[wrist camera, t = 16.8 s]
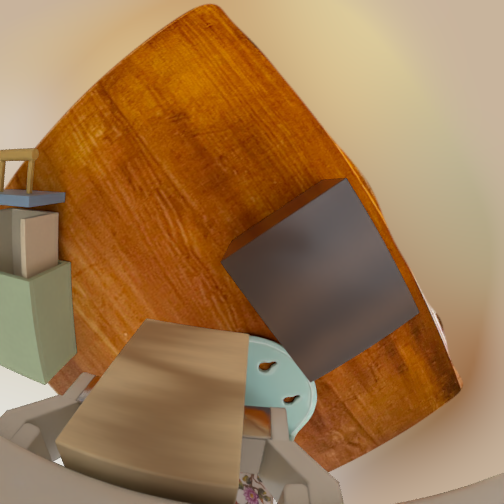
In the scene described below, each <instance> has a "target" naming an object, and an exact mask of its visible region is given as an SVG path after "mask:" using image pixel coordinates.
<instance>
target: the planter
mask: <svg viewBox="0 0 504 504" xmlns="http://www.w3.org/2000/svg"><path fill="white" fill-rule="evenodd" d="M272 361H275V362H276V363H274V364H272V365H271V367H270V368H269V369H268V370H262V369H260V368H259V365H260V364H261V363H263V362H266V363H270V362H272ZM296 395H299V396H297V397H295V398H294V400H293V401H292V402H290V403H286V402H284V401H283V400H284V398H286V397H293V396H296ZM316 401H317V391H316V386H315V382H314V381H313V382H310V381H309V380H308V379H307V378H306V376H305V375H304V374H303V372H302V371H301V370H300V369H299V367H298V366H297V365H296V363H295V362H294V361H293V359H292V358H291V357H290V355H289V354H288V353H287V351H286V350H285V349H284V348H283V346H282V345H281V344H279V343H276V342H274V341H271V340H268V339H265V338H261V337H257V336H251V335H249V348H248V363H247V377H246V391H245V405H251V406H261V407H281V408H285V409H286V412H287V422H288V431H289V441H294V438H295V436H296V434H297V433H298V432H299V431H300V430H301V428H302V427H303V426H304V425H305V424H306V423H307V422H308V420H309V419H310V418H311V416H312V414H313V412H314V410H315V406H316Z"/></svg>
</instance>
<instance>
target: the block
mask: <svg viewBox="0 0 504 504" xmlns="http://www.w3.org/2000/svg"><path fill="white" fill-rule="evenodd" d="M248 348H249V334H245V333H237V332H230V331H222V330H215V329H208V328H201V327H195V326H188V325H182V324H176V323H170V322H164V321H158V320H153V319H146V320H145V321H144V322H143V324H142V325H141V326H140V327H139V329H138V330H137V331H136V332H135V334H134V335H133V336H132V338H131V339H130V340H129V341H128V343H127V344H126V345H125V347H124V348H123V349H122V351H121V352H120V353H119V354H118V356H117V357H116V358H115V360H114V361H113V362H112V364H111V365H110V366H109V368H108V369H107V370H106V372H105V373H104V374H103V375H102V377H101V378H100V379H99V381H98V382H97V383H96V385H95V386H94V388H93V389H92V390H91V392H90V393H89V394H88V396H87V397H86V398H85V400H84V401H83V402H82V404H81V405H80V407H79V408H78V409H77V411H76V412H75V413H74V415H73V416H72V418H71V419H70V420H69V422H68V423H67V424H66V426H65V427H64V429H63V430H62V431H61V433H60V434H59V436H58V437H57V439H56V440H55V443H56V446H57V449H58V451H59V454H60V456H61V459H62V461H63V464H64V466H65V467H67V468H69V469H71V470H74V471H76V472H79V473H82V474H84V475H87V476H90V477H92V478H95V479H98V480H101V481H104V482H107V483H110V484H113V485H116V486H120V487H123V488H126V489H130V490H133V491H137V492H141V493H145V494H149V495H153V496H157V497H161V498H166V499H170V500H175V501H180V502H186V503H191V504H235V503H236V498H237V493H238V488H239V475H240V461H241V448H242V434H243V419H244V405H245V391H246V377H247V363H248Z"/></svg>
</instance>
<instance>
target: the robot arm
mask: <svg viewBox="0 0 504 504" xmlns="http://www.w3.org/2000/svg"><path fill="white" fill-rule="evenodd" d="M100 378H101V377H100V376H96V375H93V374H90V373H87V372H84V373H82V374H81V375H80V376H79V377H78V378H77V379H76V381H75V382H74V383H73V384H72V385H71V386H70V388H69V389H68V390H67V391H66V392H65V394H64V395H63V396H61V395H57V396H54V397H50V398H47V399H44V400H41V401H38V402H34V403H31V404H28V405H24V406H21V407H18V408H15V409H11V410H7V411H6V412H5V413H4V414H3V415H2V416H1V417H0V504H191V503H186V502H180V501H175V500H170V499H166V498H161V497H157V496H153V495H149V494H145V493H141V492H137V491H133V490H130V489H126V488H123V487H120V486H116V485H113V484H110V483H107V482H104V481H101V480H98V479H95V478H92V477H90V476H87V475H84V474H82V473H79V472H76V471H74V470H71V469H69V468H67V467H64V466H62V465H59V464H57V463H55V462H53V461H55V460H57V459H58V458H60V457H61V456H60V454H59V451H58V449H57V446H56V443H55V440H56V439H57V437H58V436H59V434H60V433H61V431H62V430H63V429H64V427H65V426H66V424H67V423H68V422H69V420H70V419H71V418H72V416H73V415H74V413H75V412H76V411H77V409H78V408H79V407H80V405H81V404H82V402H83V401H84V400H85V398H86V397H87V396H88V394H89V393H90V392H91V390H92V389H93V388H94V386H95V385H96V383H97V382H98V381H99V379H100ZM240 473H248V474H257V475H258V477H259V478H260V479H261V481H262V482H263V484H264V485H265V486H266V488H267V489H268V491H269V492H270V493H271V495H272V496H273V498H274V499H275V500H276V502H277V504H344V503H343V498H342V494H341V489H340V485H339V482H338V481H337V480H336V479H335V478H333V476H331V475H330V474H329V473H328V472H327V471H326V470H325V469H324V468H322V467H321V466H320V465H319V464H318V463H317V462H316V461H315V460H314V459H313V458H311V457H310V456H309V455H308V454H307V453H306V452H305V451H304V450H303V449H302V448H301V447H300V446H299V445H298V444H297V443H296V442H294V441H289V431H288V422H287V412H286V409H285V408H281V407H261V406H251V405H244V419H243V434H242V448H241V461H240ZM396 504H504V473H502V474H499V475H496V476H493V477H490V478H488V479H485V480H483V481H479V482H477V483H474V484H471V485H468V486H465V487H461V488H458V489H455V490H451V491H448V492H444V493H441V494H437V495H433V496H429V497H425V498H420V499H416V500H411V501H406V502H401V503H396Z"/></svg>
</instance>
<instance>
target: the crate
mask: <svg viewBox="0 0 504 504" xmlns="http://www.w3.org/2000/svg"><path fill="white" fill-rule="evenodd" d="M221 264H222V265H223V266H224V268H225V269H226V271H227V272H228V273H229V275H230V276H231V277H232V279H233V280H234V282H235V283H236V284H237V286H238V287H239V288H240V290H241V291H242V293H243V294H244V295H245V297H246V298H247V299H248V301H249V302H250V303H251V305H252V306H253V307H254V309H255V310H256V312H257V313H258V314H259V316H260V317H261V318H262V320H263V321H264V322H265V324H266V325H267V326H268V328H269V329H270V330H271V332H272V333H273V334H274V336H275V337H276V338H277V340H278V341H279V342H280V344H281V345H282V346H283V348H284V349H285V350H286V351H287V353H288V354H289V355H290V357H291V358H292V359H293V361H294V362H295V363H296V365H297V366H298V367H299V369H300V370H301V371H302V372H303V374H304V375H305V376H306V378H307V379H308V380H309V381H310V382H313V381H314V380H316V379H318V378H320V377H321V376H323V375H325V374H327V373H328V372H330V371H332V370H333V369H335V368H337V367H338V366H340V365H342V364H343V363H345V362H347V361H348V360H350V359H352V358H353V357H355V356H356V355H358V354H360V353H361V352H363V351H364V350H366V349H367V348H369V347H371V346H372V345H374V344H375V343H377V342H378V341H380V340H381V339H383V338H384V337H386V336H387V335H389V334H390V333H391V332H393V331H394V330H396V329H397V328H399V327H400V326H401V325H403V324H404V323H406V322H407V321H408V320H410V319H411V318H413V317H414V316H415V315H417V314H418V313H419V310H418V308H417V306H416V304H415V302H414V300H413V298H412V296H411V294H410V291H409V289H408V287H407V285H406V283H405V281H404V279H403V277H402V275H401V273H400V271H399V269H398V268H397V266H396V264H395V262H394V260H393V258H392V256H391V254H390V252H389V250H388V249H387V247H386V245H385V243H384V241H383V239H382V238H381V236H380V234H379V232H378V230H377V229H376V227H375V225H374V223H373V222H372V220H371V218H370V216H369V215H368V213H367V211H366V210H365V208H364V206H363V204H362V203H361V201H360V199H359V198H358V196H357V194H356V193H355V191H354V190H353V188H352V186H351V185H350V183H349V182H348V180H347V178H338V179H325V180H321V181H320V182H318V183H317V184H315V185H314V186H312V187H311V188H309V189H308V190H306V191H305V192H303V193H302V194H300V195H299V196H297V197H296V198H294V199H293V200H291V201H290V202H288V203H287V204H285V205H284V206H282V207H281V208H279V209H278V210H276V211H275V212H273V213H272V214H270V215H269V216H267V217H266V218H264V219H263V220H261V221H260V222H259V223H257V224H256V225H254V226H253V227H251V228H250V229H248V230H247V231H245V232H244V233H242V234H241V235H239V236H238V237H236V238H235V239H234V240H232V242H231V244H230V245H229V247H228V249H227V251H226V253H225V255H224V257H223V258H222V260H221Z"/></svg>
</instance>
